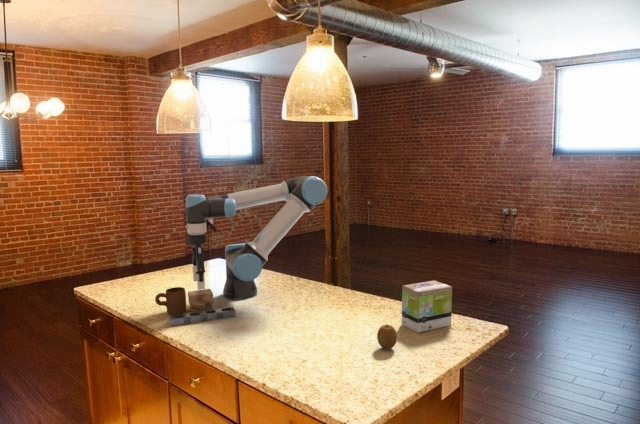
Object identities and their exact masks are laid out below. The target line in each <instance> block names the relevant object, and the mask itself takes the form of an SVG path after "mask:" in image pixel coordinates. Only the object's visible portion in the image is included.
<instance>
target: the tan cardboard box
mask: <svg viewBox="0 0 640 424" xmlns="http://www.w3.org/2000/svg"><path fill="white" fill-rule="evenodd" d="M187 296H188V297H187V298H188V299H187V300H188V303H189V306H190V312H198V311H197V310H198V307H197V306H199V305H205V309H206V310H212V309H213V306H212V305H213V304H214V293H213V291H212V290H211V288H205V289H202V290H198V289H197V290H190V291H187Z"/></svg>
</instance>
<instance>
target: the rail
mask: <svg viewBox="0 0 640 424" xmlns="http://www.w3.org/2000/svg"><path fill="white" fill-rule="evenodd" d="M236 313H237V312H236V309H235V308H234V306H228V307H221V308H219V307H218V308H215V309H213V308H212V309H206V310H200V311H190V312H185V313H183V314H177V315H169V324H170V327H176V326H183V325H189V324H197V323H204V322H210V321H215V320H217V321H218V320H223V319H224V320H225V319H230V318H236V317H237V316H236V315H237V314H236Z"/></svg>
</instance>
